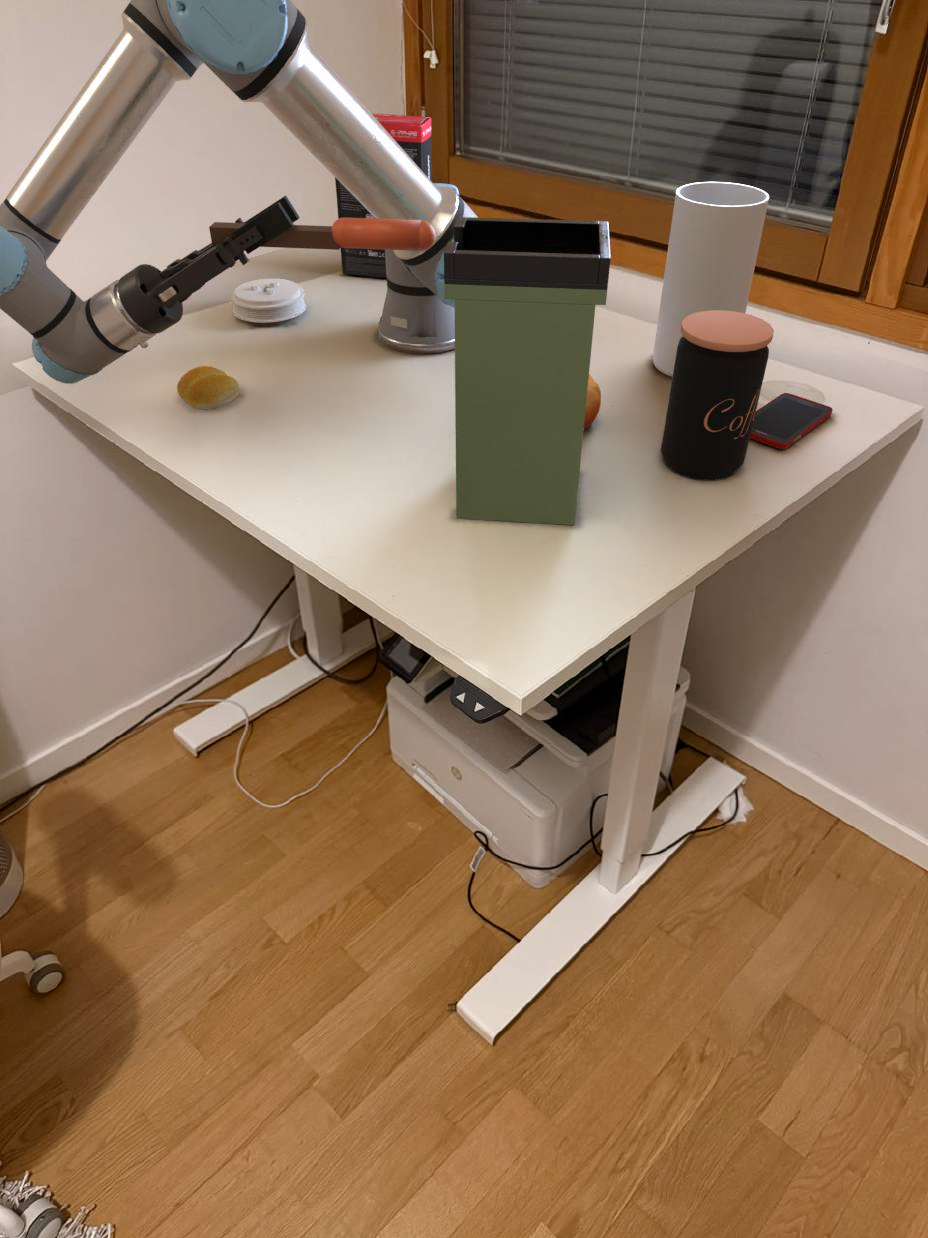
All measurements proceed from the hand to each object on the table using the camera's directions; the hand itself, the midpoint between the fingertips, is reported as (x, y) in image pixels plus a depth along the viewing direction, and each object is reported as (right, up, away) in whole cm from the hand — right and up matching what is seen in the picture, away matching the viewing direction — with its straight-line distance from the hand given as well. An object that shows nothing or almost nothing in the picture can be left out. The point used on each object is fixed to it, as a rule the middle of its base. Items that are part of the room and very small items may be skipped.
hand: (288, 210), depth 99 cm
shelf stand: (+27, -31, +9) cm, 42 cm away
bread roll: (-18, -14, +30) cm, 37 cm away
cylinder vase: (+56, -7, +38) cm, 68 cm away
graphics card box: (+5, +20, +70) cm, 73 cm away
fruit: (+35, -19, +24) cm, 46 cm away
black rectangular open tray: (+26, -10, -9) cm, 30 cm away
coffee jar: (+51, -26, +15) cm, 59 cm away
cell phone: (+64, -19, +23) cm, 71 cm away
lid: (-14, +7, +55) cm, 57 cm away
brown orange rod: (+4, -3, +2) cm, 5 cm away
